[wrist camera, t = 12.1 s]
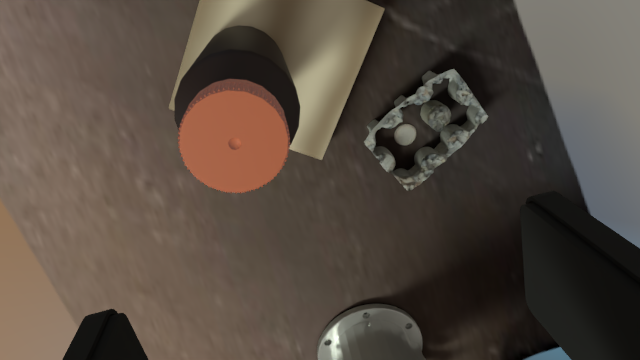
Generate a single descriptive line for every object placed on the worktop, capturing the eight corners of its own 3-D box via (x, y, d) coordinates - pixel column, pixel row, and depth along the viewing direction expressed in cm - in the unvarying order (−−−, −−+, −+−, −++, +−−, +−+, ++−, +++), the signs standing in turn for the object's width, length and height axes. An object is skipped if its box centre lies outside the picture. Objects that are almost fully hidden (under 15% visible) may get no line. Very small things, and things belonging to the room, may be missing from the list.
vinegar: (227, 7, 37) (200, 32, 19) (299, 54, 39) (340, 117, 21) (187, 81, 39) (127, 170, 20) (258, 122, 41) (263, 235, 23)
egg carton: (395, 180, 49) (406, 197, 45) (352, 127, 46) (360, 140, 42) (480, 115, 47) (500, 127, 43) (441, 56, 44) (458, 63, 40)
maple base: (376, 6, 41) (384, 8, 39) (317, 149, 46) (321, 160, 43) (221, -62, 38) (218, -65, 35) (174, 100, 42) (168, 108, 39)
